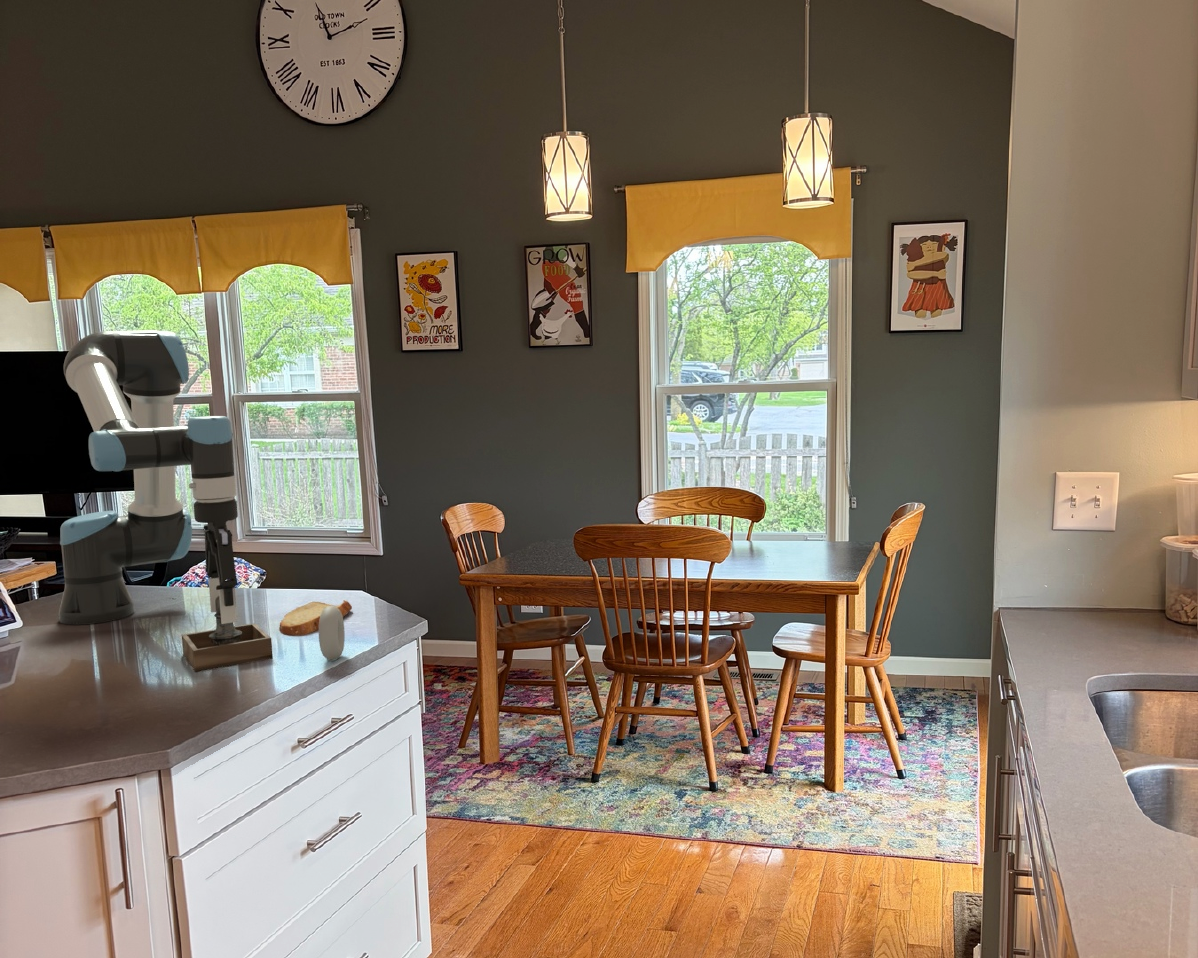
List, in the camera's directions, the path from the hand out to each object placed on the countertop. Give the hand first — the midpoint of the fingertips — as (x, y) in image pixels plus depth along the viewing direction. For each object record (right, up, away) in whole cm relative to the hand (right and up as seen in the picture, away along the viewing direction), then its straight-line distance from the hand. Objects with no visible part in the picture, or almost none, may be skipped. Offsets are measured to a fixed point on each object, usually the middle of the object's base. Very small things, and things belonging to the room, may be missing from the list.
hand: (223, 616), depth 183 cm
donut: (+22, -8, -3) cm, 23 cm away
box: (0, -8, +1) cm, 8 cm away
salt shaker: (0, -7, +1) cm, 7 cm away
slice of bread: (+10, -5, +26) cm, 28 cm away
